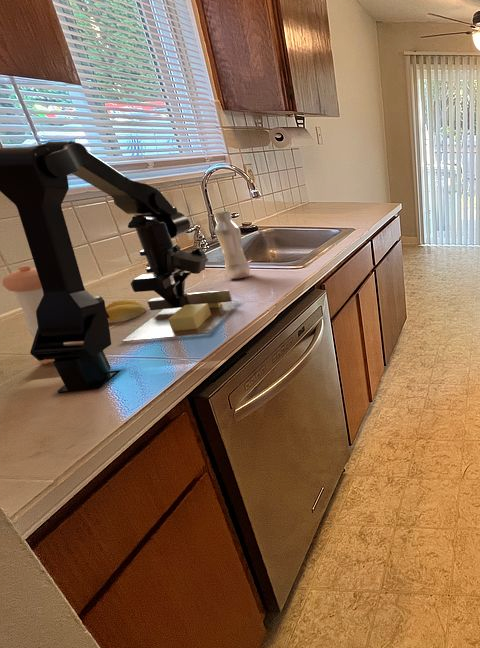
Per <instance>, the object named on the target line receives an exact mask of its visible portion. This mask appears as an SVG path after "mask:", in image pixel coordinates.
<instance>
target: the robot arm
mask: <svg viewBox="0 0 480 648" xmlns="http://www.w3.org/2000/svg"><path fill="white" fill-rule="evenodd" d="M71 174H72V175H73V176H75V177H76V178H79V179H80V180H82V181H84V182H85V183H87V184H89V185H91V186H93V187H94V188H96V189H98V190H100V191H101V192H103V193H105V194H107V195H108V196H110V198H112V200H113V203H114V205H115V206H117V208H119V209H120V210H121V211H123V212H124V213H125V214H126V215H130V216H131V220H130V221H129V222H128V225H127V228H128V229H135V231H136V234H137V237H138V239H139V243H140V245H141V247H142V249H141V250H140V251H138V253H139V255H140V257H145V258H146V261H147V264H148V267H146V268H145V270H146V273H144V274H141V275H139V276H137V277H135V278H133V280H132V281H131V282H130V286H131V288H132V292H134V293H141V292H155V293H156V294H157V295H158V296H159V297H162V298H163V299H165V300H166V301H167V302H168V303H169V304H170V305H171V306H173V307H174V308H178V307H179V301H178V296H182V295H185V289H186V287H185V286H186V280H187V279H188V278H189V276H191V275H193V274H194V275H198V274H200V273H201V272H202V271H205V270H206V263H207V262H209V258H208V256H207V255H206V253H205V251H204V248H199V247H196V248H194V249H193V250H192V251H187V252H186V251H182V250H181V247H180V246H179V245H178V244H174V242H173V240H172V239H174V238H177V237H179V236H181V235H184V234H186V233H187V232H188V231H189V230H190V228H191V222H190V220H189V218H188V217H187V216H186V215H185V214H183V213H182V212H179V211H178V209H177V206H173V205H172V204H171V203H170V201H168V199H167V198H166V197H165V196H164V194H163V193H162V192H161V191H160V190H159V189H158V188H156V187H154V186H152V185H150V184H148V183H144V182H140V181H135V180H133V179H131V178H129V177H127V176H125V175H124V174H122V173H121V172H119V171H118V170H116V169H115V168H114V167H112V166H110V165H109V164H107V163H106V162H104V161H103V160H101V159H100V158H98V157H97V156H96V155H94V154H92V153H91V152H90V151H88V150H87V148H86V147H85V146H84V145H83V144H82V143H79V142H76V141H72V140H71V141H70V140H69V141H65V140H64V141H47V142H44V143H42V144H38V145H32V146H25V147H24V146H23V147H22V146H21V147H18V146H17V147H0V193H1V194H2V195H3V196H4V197H6V198H7V199H8V200H9V201H10V202H11V203H12V204H14V205H15V207H16V210H17V212H18V215H19V219H20V222H21V225H22V229H23V231H24V235H25V238H26V242H27V244H28V248H29V251H30V254H31V257H32V260H33V264H34V266H35V267H34V268H36V270H37V274H38V277H39V280H40V283H41V286H42V290H43V294H44V295H43V297H42V299H41V301H40V303H39V305H38V307H37V310H36V316H37V324H38V329H37V332H36V335H35V338H33V342H32V345H31V348H30V352H29V353H30V355H31V356H33V358H35V359H36V360H37V361H38V362H39V361H40V362H41V361H43V360H48V359H54V360H55V361H53V362H52V364H53V366H54V368H55V370H56V372H57V374H58V376H59V377H60V379H61V381H62V383H63V385H62V387H60V388H59V389H58V390H56V392H57V394H59V395H60V394H68V393H77V392H78V393H79V392H87V391H95V390H96V391H97V390H100V389H102V388H103V387H104V386H105V385H106V384H108V382H109V381H111V380H112V379H113V378H114V377H115V376H116V375H118V374H119V373H120V372H121V371H122V370H121V369H120V370H119V369H118V370H111V365H110V362H109V361H108V358H107V357H106V354H105V352H104V350H106V349H107V348H109V347H110V346H111V345H112V338H111V333H110V324H109V322H108V319H107V318H110V317H109V315H108V313H107V311H106V308H105V307H106V302H105V299H104V298H103V297H102V296H94V295H92V294H91V293H90V292H88V291H87V289H86V288H85V286H84V283H83V278H82V275H81V271H80V268H79V265H78V261H77V257H76V253H75V251H74V247H73V244H72V240H71V237H70V232H69V229H68V226H67V222H66V219H65V216H64V212H63V208H62V204H63V202H64V200H65V198H66V196H67V193H68V192H69V189H70V187H69V177H68V176H69V175H71ZM76 341H84V342H83V343H78V344H64V343H63V342H76Z"/></svg>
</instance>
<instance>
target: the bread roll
mask: <svg viewBox="0 0 480 648" xmlns="http://www.w3.org/2000/svg"><path fill="white" fill-rule="evenodd" d="M105 308H106V311H107V313H108V315H109V317H110V318H107V319H108V322H109V323H110V324H111V323H120V322H126V321H128V320H132V319H135V318H137V317H141V316H142V315H143V314H145V313H146V310H147V309H146V307H145V305H143V303H141V302H139V301H137V300H133V299H120V300H115V301H112V302H111V303H109V304H107V305H105Z"/></svg>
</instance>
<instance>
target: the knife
mask: <svg viewBox="0 0 480 648" xmlns="http://www.w3.org/2000/svg"><path fill="white" fill-rule="evenodd" d="M178 301H179V307H178V308H181V307H183V306H184V305H193V304H205V303H208V304H211V303H221V304H222V303H232V302H233V298H232V295H231V291H230V289H224V290H214V291H203V292H190V293H184V295H182V296H178ZM146 302H147V305H148V307H149V310H150V311H159V310H160V311H161V310H163V309H171V308H174V307H173V306H171V305H170V304H169V303H168V302H167V301H166V300H165V299H163V298H162V297H161V296H159V297H151V298H150V299H149V300H147V301H146Z"/></svg>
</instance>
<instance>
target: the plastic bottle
mask: <svg viewBox="0 0 480 648" xmlns="http://www.w3.org/2000/svg"><path fill="white" fill-rule="evenodd" d="M214 215H215V219H216V220H217V224H216V225H215V228H214V234H215V236H216V238H217V241H218V243H219V245H220V249H221V250H222V255H223V259H224V269H225V273H226V275H227V277H228V278H230V279H242V278H247V277H249V276H250V274H251V267H250V264H249V262H248V261H247V258H246V255H245V251H244V249H243V242H242V234H241V233H242V232H241V229H240V227H239V226H238V225H237V223H235V222H234V221H233V220H232V219H233V218H232V216H231V212H230V211H219V212H215V214H214Z"/></svg>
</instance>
